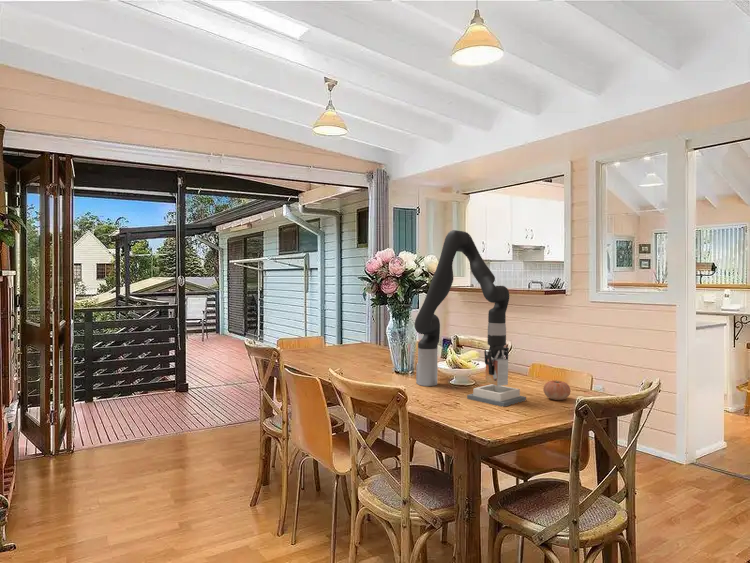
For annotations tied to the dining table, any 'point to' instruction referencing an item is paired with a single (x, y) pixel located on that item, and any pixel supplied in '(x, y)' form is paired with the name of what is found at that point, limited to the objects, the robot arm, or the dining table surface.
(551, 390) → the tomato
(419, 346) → the robot arm
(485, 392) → the socket board
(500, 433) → the dining table surface
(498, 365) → the small box
